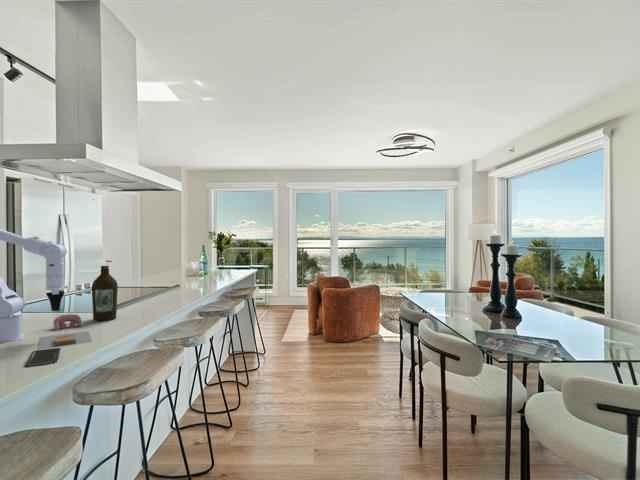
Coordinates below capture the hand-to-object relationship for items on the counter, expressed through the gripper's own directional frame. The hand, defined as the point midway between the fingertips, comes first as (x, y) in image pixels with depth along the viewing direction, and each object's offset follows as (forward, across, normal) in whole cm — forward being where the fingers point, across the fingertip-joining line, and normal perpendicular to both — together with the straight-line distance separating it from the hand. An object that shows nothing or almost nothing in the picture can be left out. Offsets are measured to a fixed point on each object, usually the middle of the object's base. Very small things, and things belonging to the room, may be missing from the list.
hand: (55, 310), depth 142 cm
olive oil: (+11, +24, -19) cm, 32 cm away
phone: (+11, -26, +3) cm, 28 cm away
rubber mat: (+10, -7, -3) cm, 13 cm away
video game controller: (+11, +14, -4) cm, 18 cm away
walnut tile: (+9, -7, -3) cm, 12 cm away
